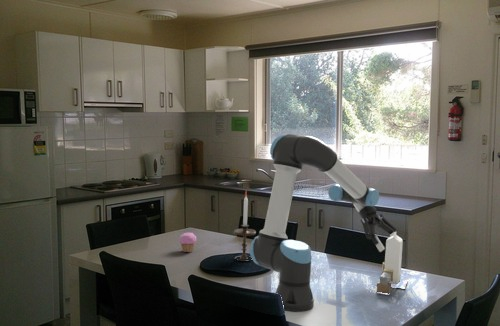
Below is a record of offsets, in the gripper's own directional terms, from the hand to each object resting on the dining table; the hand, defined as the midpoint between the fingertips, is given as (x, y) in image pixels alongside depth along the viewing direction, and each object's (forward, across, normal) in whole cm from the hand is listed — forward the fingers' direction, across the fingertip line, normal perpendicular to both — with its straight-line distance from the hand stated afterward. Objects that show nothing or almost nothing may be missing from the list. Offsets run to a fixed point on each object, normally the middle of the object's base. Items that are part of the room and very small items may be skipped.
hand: (391, 248), depth 214 cm
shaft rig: (+11, +2, -11) cm, 15 cm away
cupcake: (-52, +47, -74) cm, 102 cm away
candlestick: (-33, +31, -55) cm, 71 cm away
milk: (+12, +1, -9) cm, 15 cm away
